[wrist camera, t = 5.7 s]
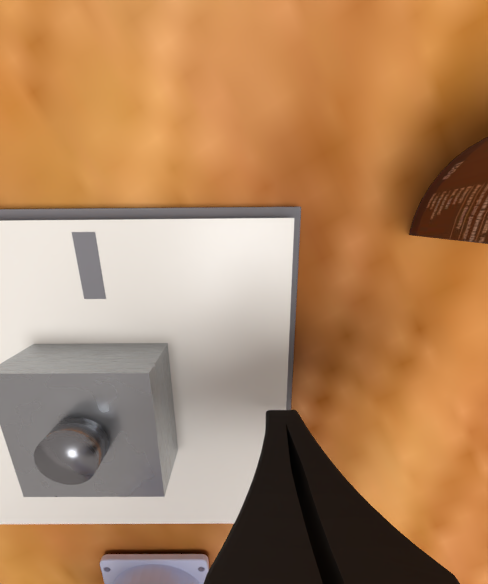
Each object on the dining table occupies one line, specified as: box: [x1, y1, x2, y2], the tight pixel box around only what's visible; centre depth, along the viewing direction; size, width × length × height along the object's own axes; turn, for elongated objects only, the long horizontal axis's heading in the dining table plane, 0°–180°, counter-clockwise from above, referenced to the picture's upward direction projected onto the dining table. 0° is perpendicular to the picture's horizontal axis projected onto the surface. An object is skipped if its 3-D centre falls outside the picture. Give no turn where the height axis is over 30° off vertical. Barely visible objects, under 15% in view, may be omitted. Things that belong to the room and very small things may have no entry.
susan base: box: [0, 207, 301, 410], centre depth 15 cm, size 19×19×1 cm
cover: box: [0, 343, 178, 497], centre depth 12 cm, size 6×6×4 cm
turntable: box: [0, 218, 294, 524], centre depth 13 cm, size 18×21×4 cm
